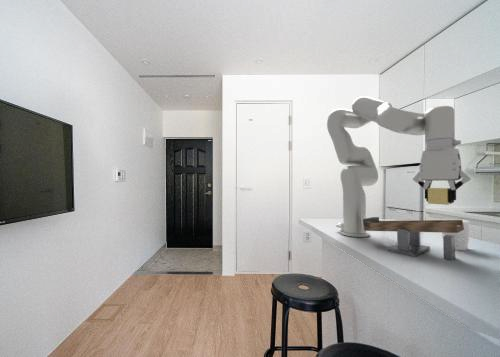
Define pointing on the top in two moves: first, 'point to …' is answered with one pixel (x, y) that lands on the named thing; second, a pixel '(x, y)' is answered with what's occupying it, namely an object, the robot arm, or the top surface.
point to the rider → (438, 196)
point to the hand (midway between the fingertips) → (439, 201)
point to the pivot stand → (408, 243)
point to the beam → (414, 225)
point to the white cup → (460, 236)
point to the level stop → (449, 247)
